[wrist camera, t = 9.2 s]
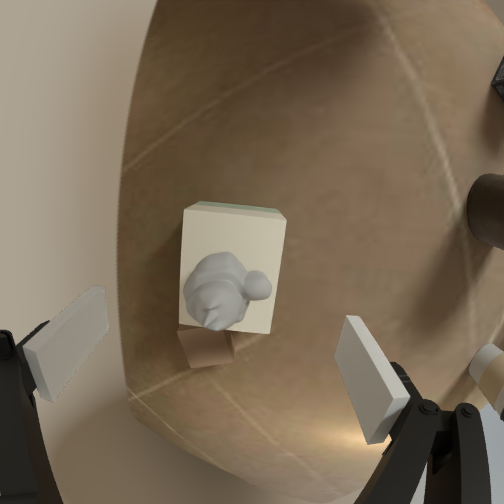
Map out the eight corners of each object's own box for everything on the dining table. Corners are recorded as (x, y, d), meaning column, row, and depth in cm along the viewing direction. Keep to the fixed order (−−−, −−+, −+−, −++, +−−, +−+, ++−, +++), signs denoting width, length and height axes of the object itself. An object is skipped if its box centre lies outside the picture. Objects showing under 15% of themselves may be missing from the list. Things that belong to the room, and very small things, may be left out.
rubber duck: (182, 252, 23) (151, 290, 15) (263, 239, 23) (270, 271, 15) (197, 313, 25) (177, 368, 17) (273, 302, 24) (283, 356, 17)
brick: (183, 315, 34) (176, 331, 30) (224, 307, 33) (221, 324, 29) (196, 349, 35) (190, 368, 31) (234, 343, 35) (233, 362, 31)
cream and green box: (200, 200, 30) (183, 209, 22) (277, 209, 30) (286, 220, 23) (194, 290, 33) (179, 323, 25) (265, 297, 33) (269, 333, 25)
